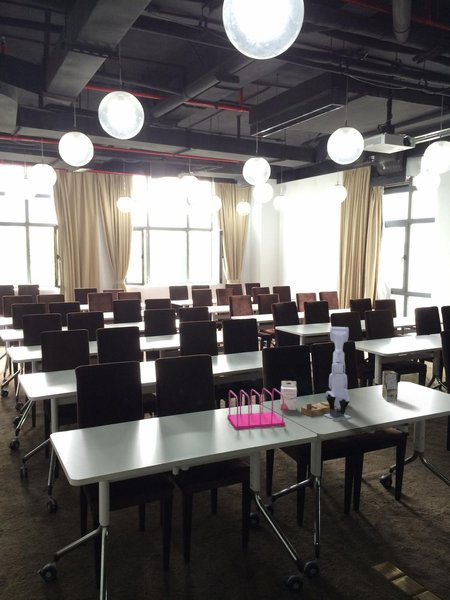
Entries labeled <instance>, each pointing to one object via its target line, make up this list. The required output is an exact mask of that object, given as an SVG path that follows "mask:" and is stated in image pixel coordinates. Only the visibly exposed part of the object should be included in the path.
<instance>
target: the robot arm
mask: <svg viewBox="0 0 450 600" xmlns="http://www.w3.org/2000/svg"><path fill="white" fill-rule="evenodd" d="M329 329H330V330H329V332H330V333H329V337H330V341H331V342H333V343H334V351H333V353H332V364H331V373H330V374H329V378H328V388H329V389H330V390H327V391H326V392H325V394H326V396H325V399H326V402H328V403H329V407H330V409H332V408H334V405H336V407H340V408H341V414H345V413H346V410H347V407H348V406H350V402H351V401H350V400H351V399H350V398H351V397H350V396H349V395H350V394H349V390H348V375H347V374H346V363H345V352H344V351H343V349H344V343H347V342H348V340H349V333H350V332H349V327H348V326H330V328H329ZM345 415H346V414H345Z"/></svg>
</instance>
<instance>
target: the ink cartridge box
mask: <svg viewBox="0 0 450 600" xmlns="http://www.w3.org/2000/svg"><path fill="white" fill-rule="evenodd" d="M297 388H298V387H297V381H295V380H294V381H292V380H281V386H280V393H281V394H282V395H283V397H284V410H286V411H287V410H288V411H290V410H291V411H297V401H298V400H297V398H298V397H297V395H298V389H297ZM282 406H283V399H282V396H281V395H280V410H282Z"/></svg>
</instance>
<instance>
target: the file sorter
mask: <svg viewBox="0 0 450 600" xmlns="http://www.w3.org/2000/svg"><path fill="white" fill-rule="evenodd" d="M264 391H265V392H267V393H268V394H269V395H270V396H271V411H265V412H264V411H263V409H264V407H263V406H264ZM253 392H254V393H256V395H257V396H258V400H259V412H253V406H252V405H253ZM274 392H276V393H278V394H279V395H280V397H281V396H282V399H283V406H282V409H281V410H282V412H281V417H280V416H279V415H278V414H277V413H276V412H274ZM242 393H243V394H244V395H245V396H246V397H247V406H248V410H247V411H248V412H247V413H242ZM231 394H232V395H233V396H234V397H235V399H236V414H235V413H234V414H231ZM238 399H239V400H238ZM284 410H285V409H284V397H283V395H282V394H281V391H279V390H277V389H276V388H275V387H274V388H272V391H271V392H270V391H269V390H268V389H266V388H265V387H263V388H262V392H261V395H260V394H259V393H258V392H257V391H256V390H255V389H253V388H251V390H250V397H249V394H247V392H245V391H244V390H243V389H240V391H239V398H238V396H237V395H236V394H235V393H234V391H232V390H229V391H228V414H227V420H228V422H230V423H231V425H232V426H233V428H234V429H235V430H244V429H245V430H246V429H259V428H260V429H261V428H273V427H272V426H275V427H285V426H286V422H285V420H284V414H285V413H284Z"/></svg>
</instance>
